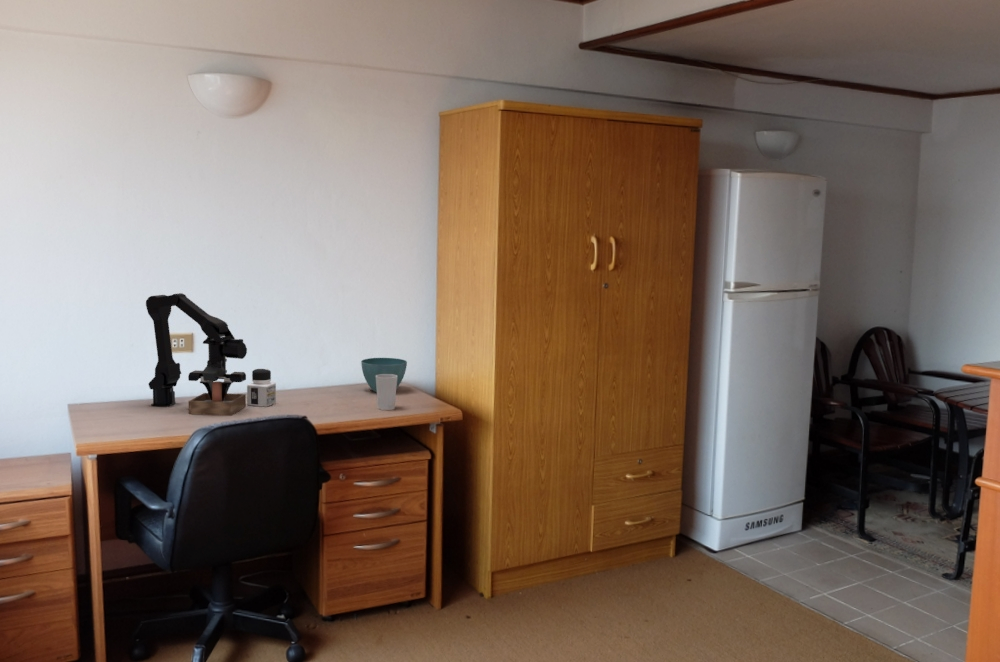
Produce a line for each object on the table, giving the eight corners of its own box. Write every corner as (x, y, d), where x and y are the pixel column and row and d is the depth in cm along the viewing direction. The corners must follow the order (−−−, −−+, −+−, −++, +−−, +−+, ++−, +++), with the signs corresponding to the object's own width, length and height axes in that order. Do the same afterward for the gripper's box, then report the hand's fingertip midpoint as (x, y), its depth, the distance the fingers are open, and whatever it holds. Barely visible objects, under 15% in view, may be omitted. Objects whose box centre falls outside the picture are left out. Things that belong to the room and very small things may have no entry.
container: (266, 407, 311) (266, 371, 310) (246, 405, 313) (246, 370, 311) (276, 402, 319) (276, 368, 317) (257, 401, 320) (256, 367, 319)
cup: (401, 407, 317) (401, 375, 315) (389, 411, 309) (390, 378, 308) (382, 405, 320) (383, 373, 318) (370, 408, 313) (371, 376, 311)
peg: (210, 408, 302) (210, 383, 301) (214, 406, 306) (214, 381, 305) (221, 408, 302) (220, 383, 301) (224, 406, 306) (224, 381, 304)
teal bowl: (414, 389, 351) (415, 360, 350) (391, 397, 335) (391, 366, 333) (376, 385, 358) (377, 356, 357) (352, 392, 342) (352, 362, 340)
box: (188, 413, 297) (188, 401, 296) (204, 404, 312) (204, 392, 311) (231, 415, 296) (231, 402, 296) (245, 406, 311) (245, 394, 311)
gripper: (181, 359, 294) (182, 404, 296) (235, 361, 293) (236, 406, 295) (194, 354, 305) (194, 397, 307) (246, 356, 305) (246, 399, 306)
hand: (217, 400), depth 304 cm, fingers closed on peg, 4 cm apart
